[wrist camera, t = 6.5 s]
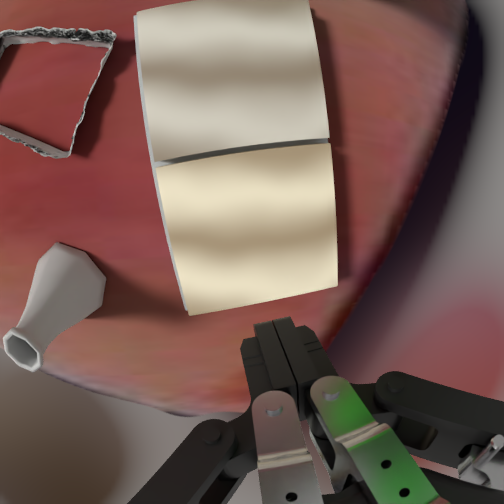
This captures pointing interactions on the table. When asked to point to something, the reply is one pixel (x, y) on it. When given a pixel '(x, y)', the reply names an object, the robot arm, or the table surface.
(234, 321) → the table surface
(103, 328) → the table surface
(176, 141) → the laid plank
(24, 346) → the flask
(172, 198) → the cream wavy square sheet
